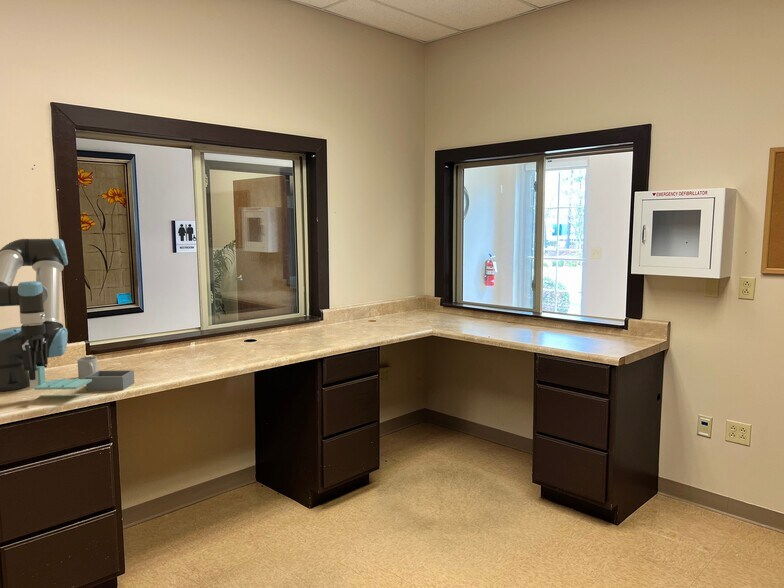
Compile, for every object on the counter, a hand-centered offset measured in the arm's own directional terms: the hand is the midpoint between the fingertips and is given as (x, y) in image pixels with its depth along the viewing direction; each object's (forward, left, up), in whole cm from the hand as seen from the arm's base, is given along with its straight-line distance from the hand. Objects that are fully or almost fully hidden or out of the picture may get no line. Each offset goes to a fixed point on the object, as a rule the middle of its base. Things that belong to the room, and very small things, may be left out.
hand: (37, 386), depth 208 cm
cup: (+5, +26, -5) cm, 27 cm away
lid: (+8, 0, 0) cm, 8 cm away
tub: (+20, +13, -5) cm, 25 cm away
